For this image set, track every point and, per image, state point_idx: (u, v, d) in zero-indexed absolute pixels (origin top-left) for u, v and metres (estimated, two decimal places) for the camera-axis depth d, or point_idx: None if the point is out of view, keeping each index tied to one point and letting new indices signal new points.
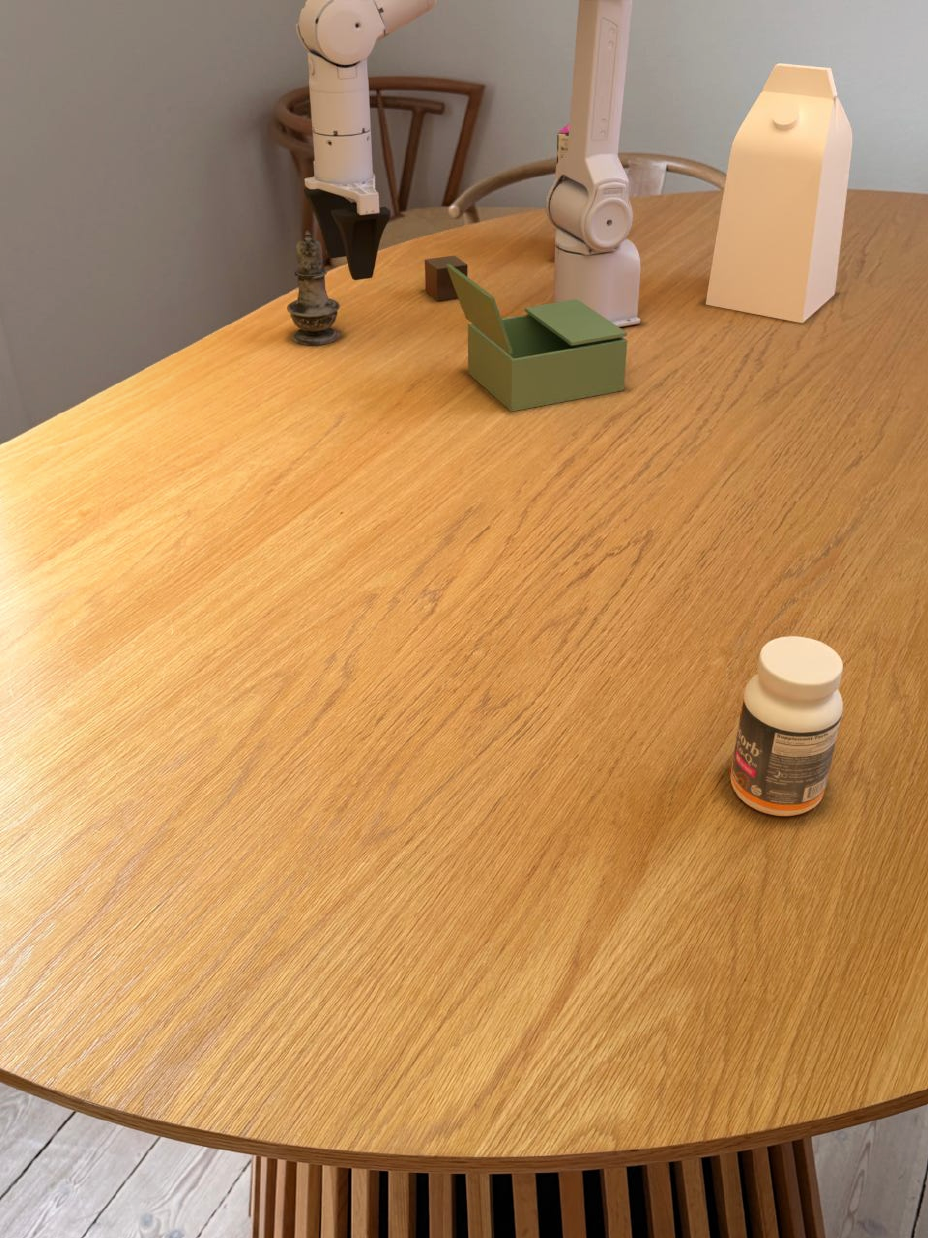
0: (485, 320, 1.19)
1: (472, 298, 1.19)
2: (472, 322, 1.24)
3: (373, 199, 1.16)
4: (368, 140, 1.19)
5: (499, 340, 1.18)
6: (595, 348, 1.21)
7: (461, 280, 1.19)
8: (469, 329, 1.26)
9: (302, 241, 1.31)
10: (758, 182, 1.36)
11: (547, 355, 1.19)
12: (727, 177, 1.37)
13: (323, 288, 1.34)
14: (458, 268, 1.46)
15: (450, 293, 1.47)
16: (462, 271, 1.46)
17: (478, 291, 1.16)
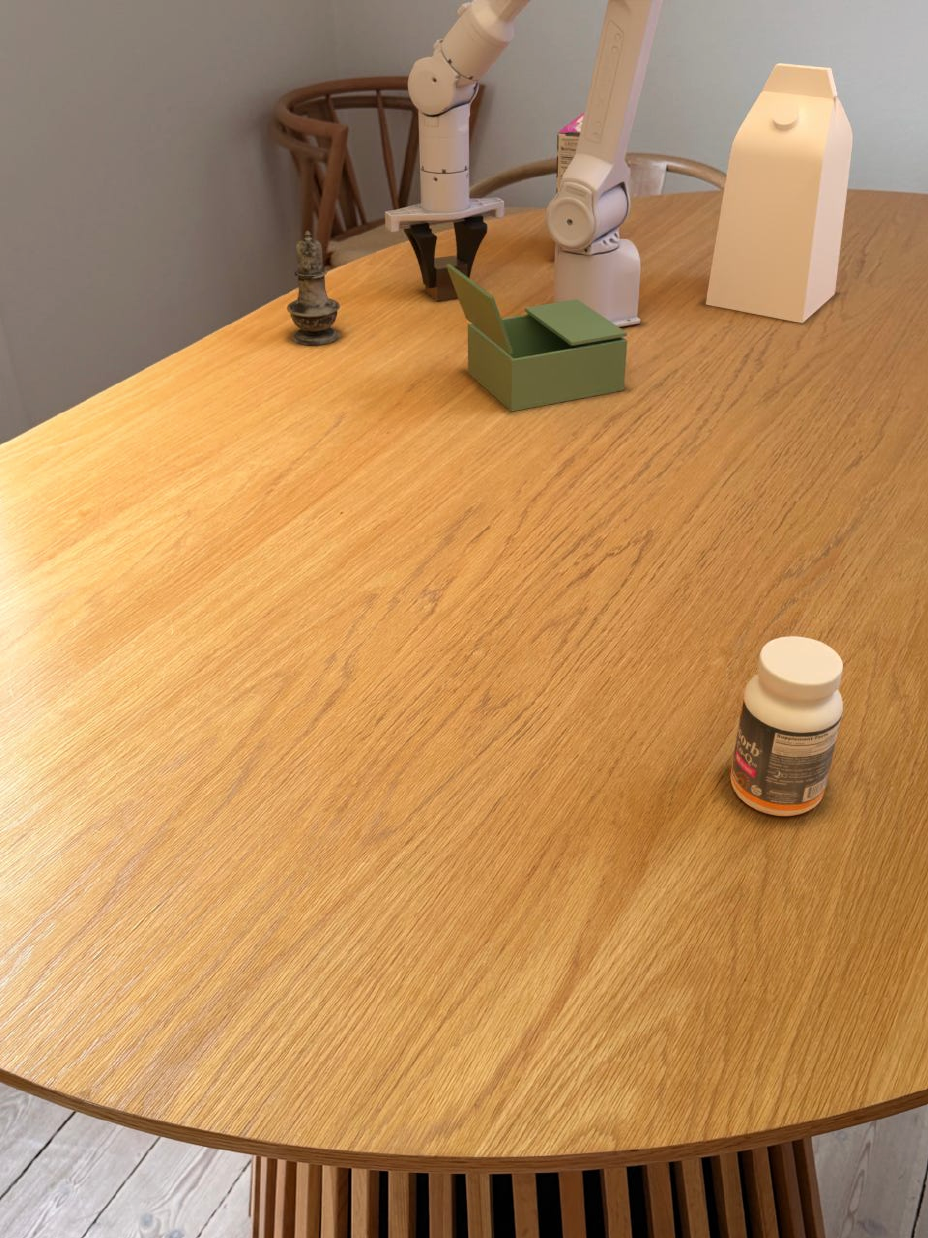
0: (485, 320, 1.19)
1: (472, 298, 1.19)
2: (472, 322, 1.24)
3: (388, 219, 1.41)
4: (436, 181, 1.39)
5: (499, 340, 1.18)
6: (595, 348, 1.21)
7: (461, 280, 1.19)
8: (469, 329, 1.26)
9: (302, 241, 1.31)
10: (758, 182, 1.35)
11: (547, 355, 1.19)
12: (727, 177, 1.37)
13: (323, 288, 1.34)
14: (458, 268, 1.46)
15: (449, 293, 1.47)
16: (462, 271, 1.46)
17: (478, 291, 1.16)
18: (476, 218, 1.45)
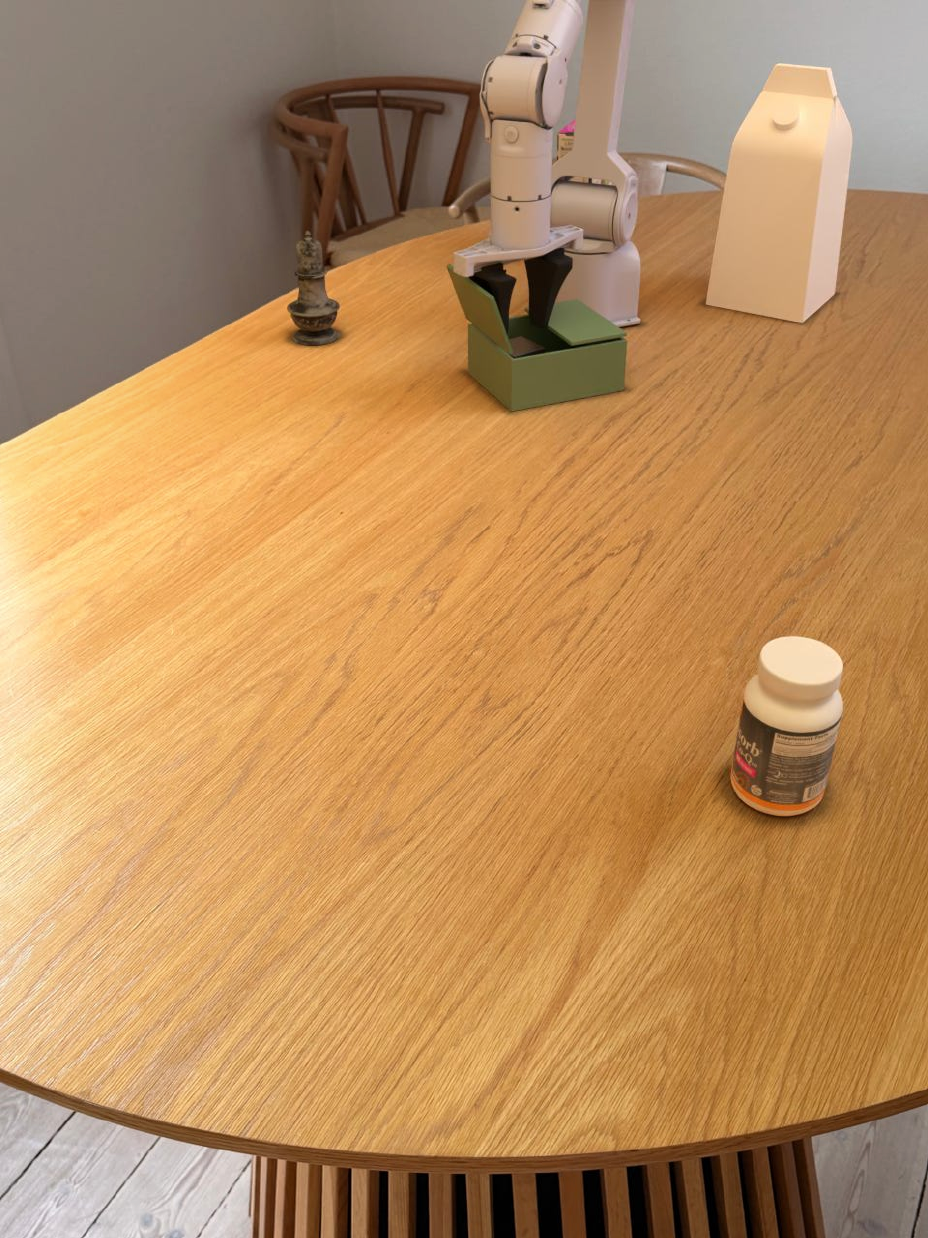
0: (485, 320, 1.19)
1: (472, 298, 1.19)
2: (472, 322, 1.24)
3: (461, 262, 1.14)
4: (518, 211, 1.13)
5: (499, 340, 1.18)
6: (595, 348, 1.21)
7: (461, 280, 1.19)
8: (469, 329, 1.26)
9: (302, 241, 1.31)
10: (758, 182, 1.35)
11: (547, 355, 1.19)
12: (727, 177, 1.37)
13: (323, 288, 1.34)
14: (536, 353, 1.22)
15: None
16: None
17: (478, 291, 1.16)
18: (557, 251, 1.20)
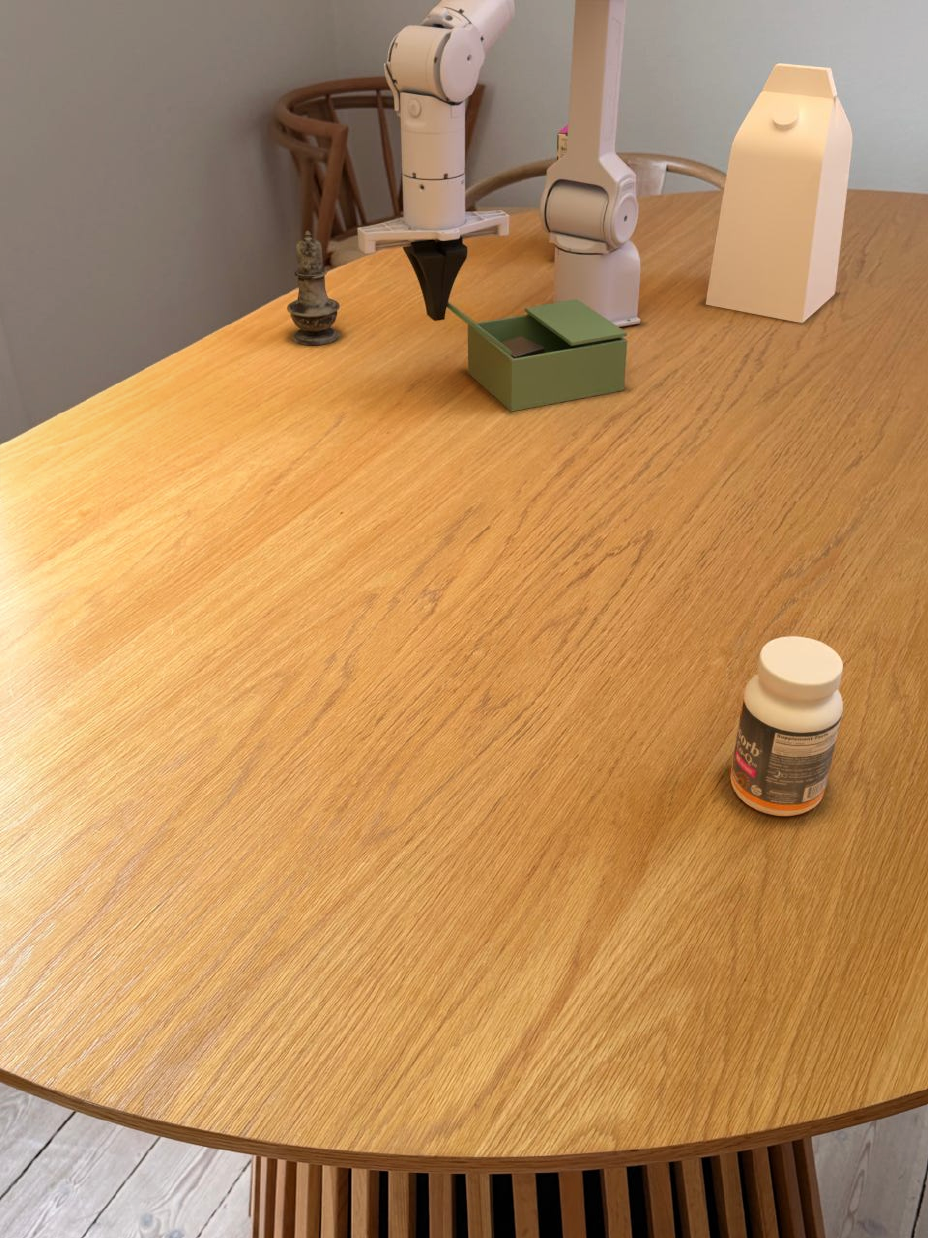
0: None
1: None
2: None
3: None
4: None
5: None
6: (595, 348, 1.21)
7: None
8: (469, 329, 1.26)
9: (302, 241, 1.31)
10: (758, 182, 1.36)
11: (547, 355, 1.19)
12: (727, 177, 1.37)
13: (323, 288, 1.34)
14: (536, 353, 1.22)
15: None
16: None
17: (455, 313, 1.16)
18: None
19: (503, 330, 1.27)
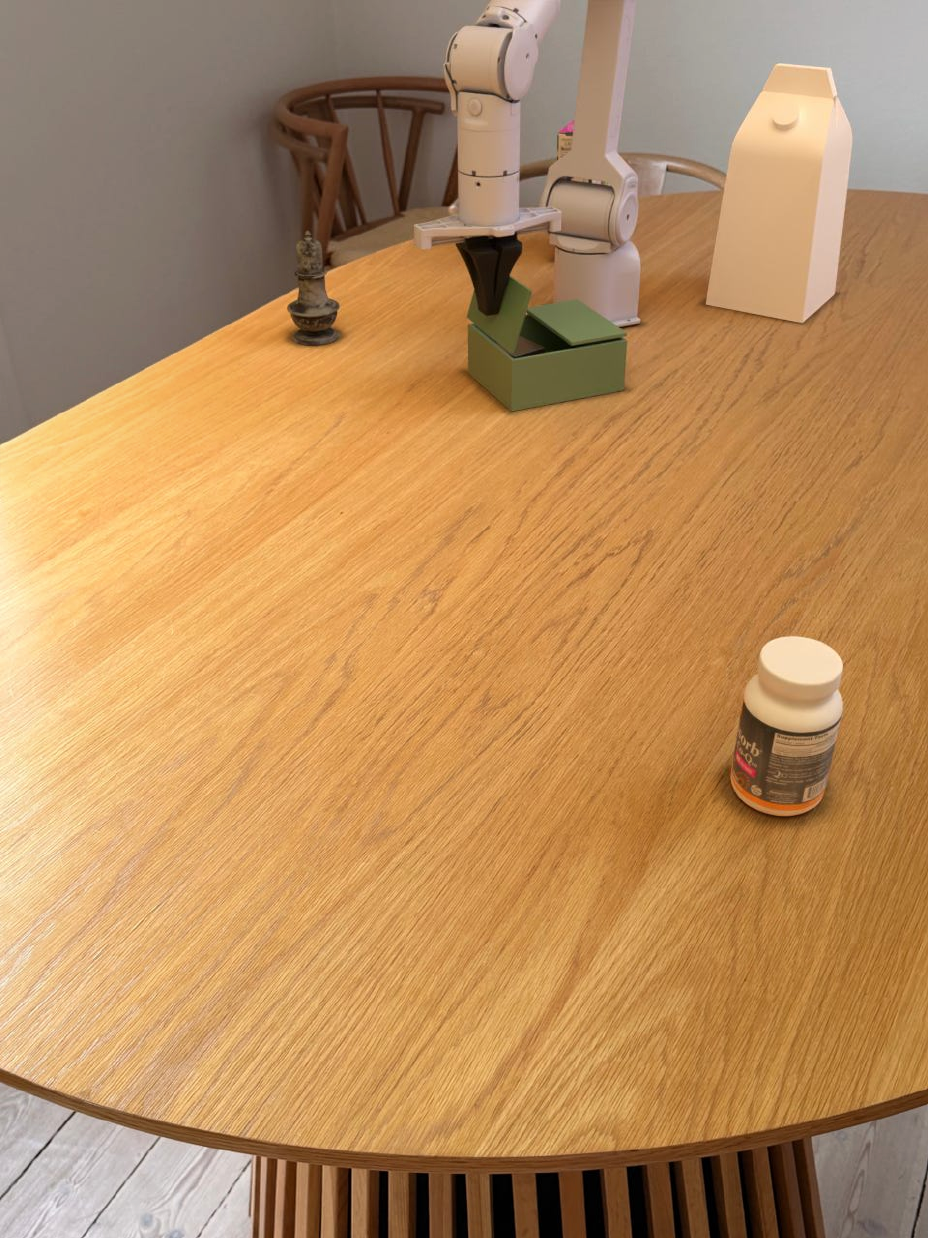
0: (499, 316, 1.19)
1: None
2: (474, 320, 1.24)
3: None
4: None
5: (505, 338, 1.18)
6: (595, 348, 1.21)
7: None
8: (469, 329, 1.26)
9: (302, 241, 1.31)
10: (758, 182, 1.35)
11: (547, 355, 1.19)
12: (727, 177, 1.37)
13: (323, 288, 1.34)
14: (536, 353, 1.22)
15: None
16: None
17: (515, 283, 1.17)
18: None
19: None
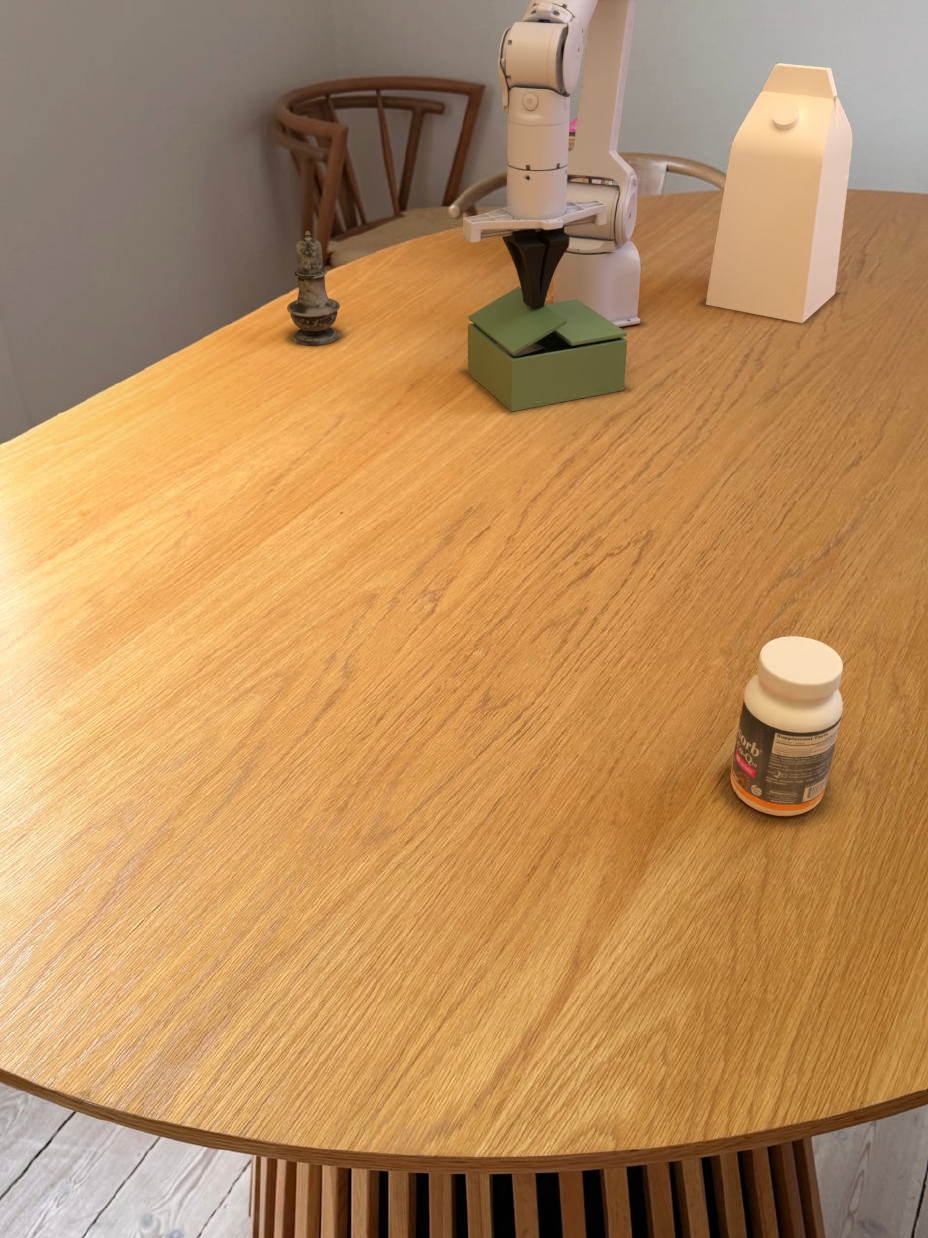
0: (514, 326, 1.20)
1: (523, 311, 1.22)
2: (477, 321, 1.24)
3: None
4: None
5: (512, 341, 1.19)
6: (595, 348, 1.21)
7: None
8: (469, 329, 1.26)
9: (302, 241, 1.31)
10: (758, 182, 1.35)
11: (547, 355, 1.19)
12: (727, 177, 1.37)
13: (323, 288, 1.34)
14: (536, 353, 1.22)
15: None
16: None
17: (550, 311, 1.20)
18: None
19: None
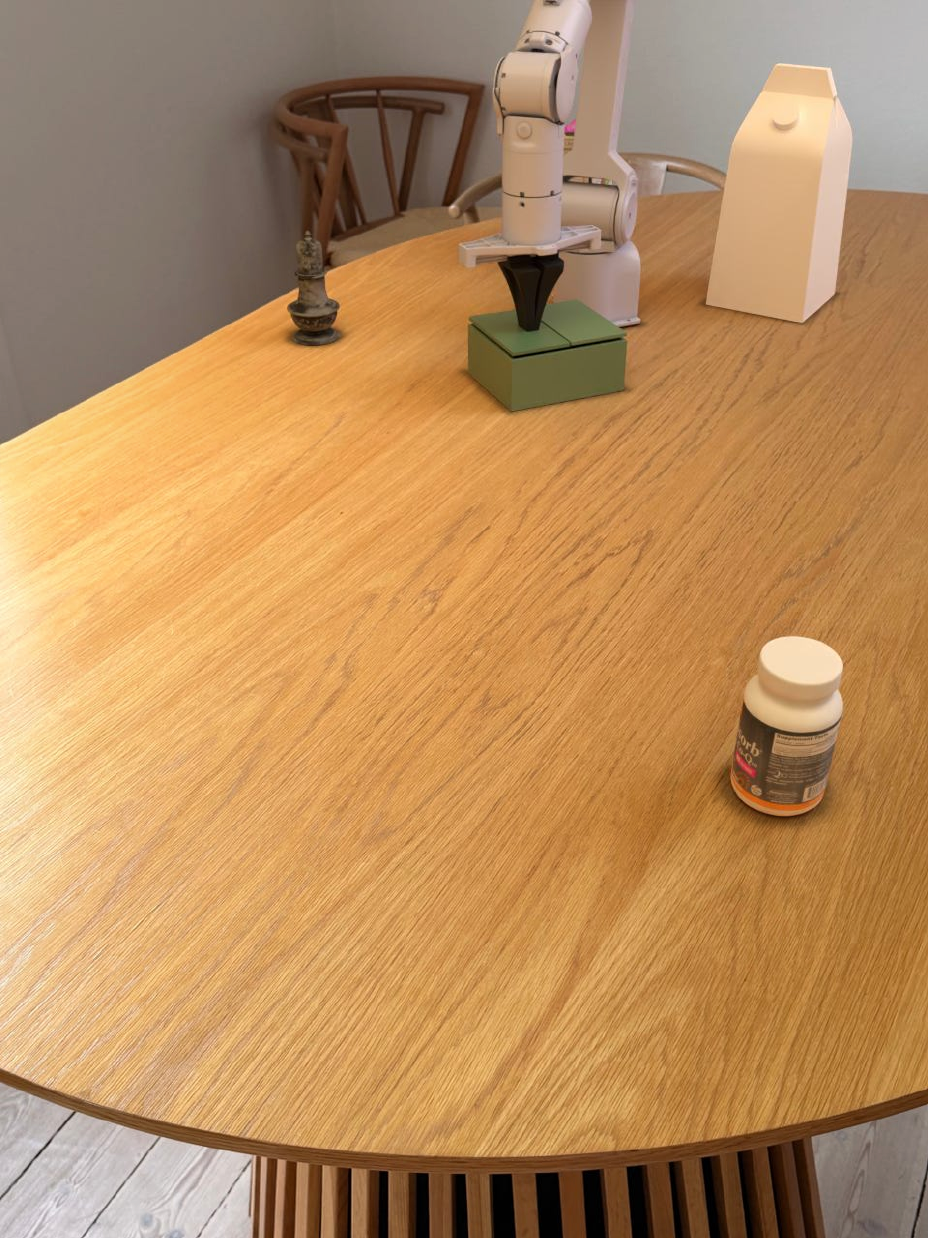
0: (516, 334, 1.21)
1: None
2: (478, 322, 1.24)
3: None
4: None
5: (513, 344, 1.19)
6: (595, 348, 1.21)
7: None
8: (469, 329, 1.26)
9: (302, 241, 1.31)
10: (758, 182, 1.35)
11: (547, 355, 1.19)
12: (727, 177, 1.37)
13: (323, 288, 1.34)
14: (536, 353, 1.22)
15: None
16: None
17: (554, 333, 1.21)
18: None
19: None
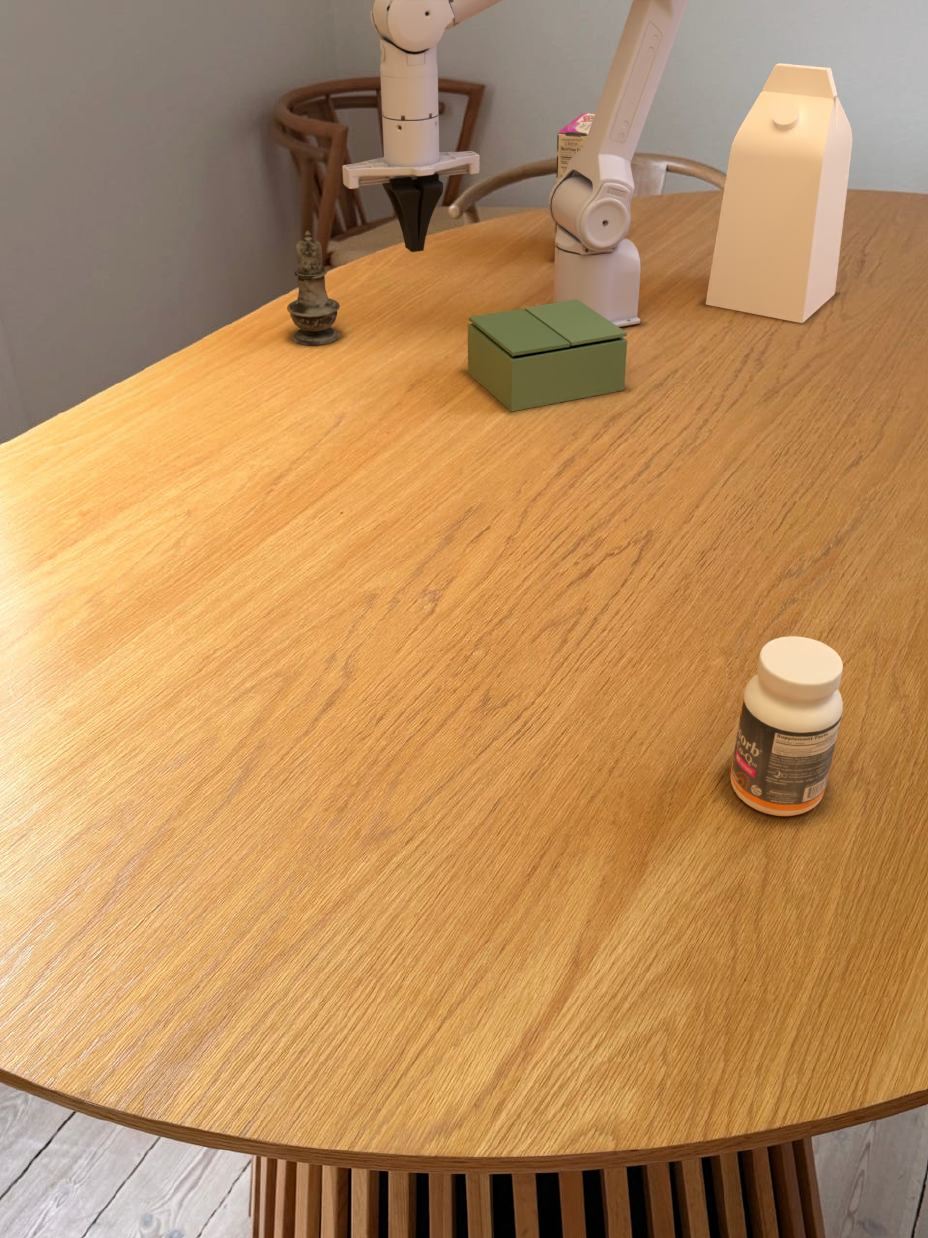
0: (516, 334, 1.21)
1: (526, 326, 1.23)
2: (478, 322, 1.24)
3: None
4: None
5: (513, 344, 1.19)
6: (595, 348, 1.21)
7: (533, 319, 1.25)
8: (469, 329, 1.26)
9: (302, 241, 1.31)
10: (758, 182, 1.35)
11: (547, 355, 1.19)
12: (727, 177, 1.37)
13: (323, 288, 1.34)
14: (536, 353, 1.22)
15: None
16: None
17: (554, 333, 1.21)
18: None
19: None
